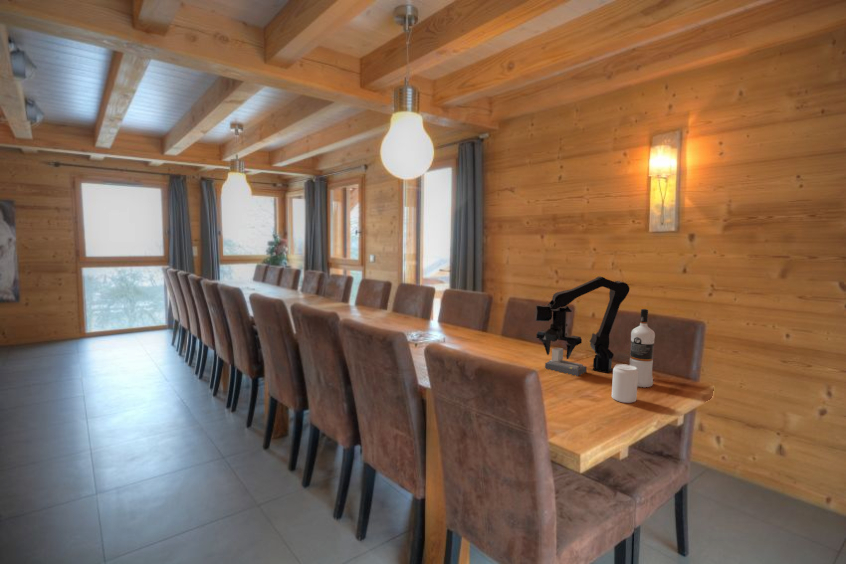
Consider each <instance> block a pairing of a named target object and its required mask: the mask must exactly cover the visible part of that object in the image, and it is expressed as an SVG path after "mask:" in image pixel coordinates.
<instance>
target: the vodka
mask: <svg viewBox="0 0 846 564" xmlns="http://www.w3.org/2000/svg"><path fill="white" fill-rule="evenodd" d="M639 318H640V320H639V321H640V322H639V325H638V326H636V327H635V328H633V329H631V332H630V354H629V355H630V357H629V365H631V366H634V367H636V368H637V371H638V383H637V388H642V387H643V388H646V387H647V388H650V387H652V386H653V385H654V379H653V365H654V364H653V363H654V348H655V347H654V344H655V339H656V338H655V337H656V333H655V331H654V330H653V329H652V328H650V327H649V326H648V319H649V309H646V308H641V309H640V317H639Z"/></svg>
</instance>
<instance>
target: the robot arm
mask: <svg viewBox="0 0 846 564" xmlns="http://www.w3.org/2000/svg"><path fill="white" fill-rule="evenodd" d="M602 287H603V288H605V289H608V290H609V292H608V293H609V301H608V303H607V307H606V310H605V313H604V315H603V317H602V321H601V324H600V326H599V329H598V331H596V333H594V332H593V333H592V334H591V339H590V340H589V342H590V347H591V349H592V350H593V351H594V354H595V355H594V358H593V365H592V370H594V371H597V372H601V373H607V374H608V373H610V372H611V371H612V372H613V369H614V368H612V365H613V363H612V361H613V358H614V355H615V354H614V353H613V352H612V351H611V350H610V333H611V330H612V328H613V326H614V323H615V321H616V318H617V316H618V315H617V314H618V311H619V309H620V306H621V304H622V303H623V301H624V300H625V299H626V298H627V296H628V295H629V293H630V286H629V284H627V282H624V281H621V280H615V281H613V280H610V279H608V278H605V277H603V276H597V277H595V278H594V279H591V280H589V281H587V282H584V283H582V284H579V285H577V286H576V287H572V288H571V289H566V290H565V289H564V290H561V291H557V292H555V293H553V295H552V297H551V300H550V302H548V304H547V305H538V304H537V305H535V309H534V321H535V322H550V321H551V320H552V321H551V323H550V326H549V327H550V328H548V329H547V330H539V331H537V332H536V334H535V335H536V338H535V339H538V340H539V341H541V342H542V344H543V346H544V350H545V353H546V355H547V356H549V355H550V351H551V341H552V342H556V341H558V340H559V341H564V342H566V343H567V344H566V360H569V358H570V356H571V355H572V353H573V351H574V349H575V347H577V346H578V345H581V344H582V342H583V340H582V338H581V336H577V335H570V336H568V333H567V327H568V323H567V315H568V314H567V313H571V312H573V311H572V310H571V309H570V307H569V306H568V305H569V304H571V303H573V301H574V300H576V299H577V298H579V297H581V296H583V295H586V294H589V293H591V292H593V291H595V290H598V289H599V288H602Z"/></svg>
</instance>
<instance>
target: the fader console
mask: <svg viewBox="0 0 846 564" xmlns="http://www.w3.org/2000/svg"><path fill="white" fill-rule="evenodd" d="M545 368H546V369H545ZM544 369H545V370H549V369H551V370H550V371H553V370H555V371H554V372H557V371H559V373H562V372H564V373H563V374H566V373H568V374H567V375H570V374H572V375H571V376H574V375H576V376H575V377H580V376H582V375H583V373H584V374H586V373H587V366H586V365H584V364H583V363H578V362H573V361H569V360H565V359H563V360H561V361H560V362H557V361H553V360H552V359H550V360H548V361H546V362H545V363H544ZM585 372H586V373H585ZM581 374H582V375H581ZM579 375H580V376H579Z"/></svg>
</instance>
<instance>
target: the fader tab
mask: <svg viewBox="0 0 846 564" xmlns="http://www.w3.org/2000/svg"><path fill="white" fill-rule="evenodd" d="M551 360H553V361H557V362H560V361H561V360H564V348H562V347H559V346H558V347H554V348H552V349H551Z"/></svg>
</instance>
